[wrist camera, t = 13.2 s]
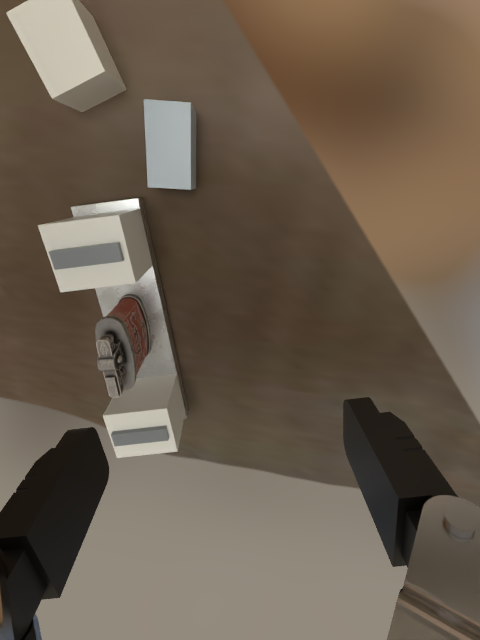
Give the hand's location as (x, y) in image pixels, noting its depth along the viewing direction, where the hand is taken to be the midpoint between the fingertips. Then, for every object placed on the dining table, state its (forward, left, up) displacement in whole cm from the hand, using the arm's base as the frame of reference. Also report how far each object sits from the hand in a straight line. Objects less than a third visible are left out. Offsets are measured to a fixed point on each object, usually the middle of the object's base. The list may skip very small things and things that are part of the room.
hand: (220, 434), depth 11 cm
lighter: (-12, -7, -28) cm, 32 cm away
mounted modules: (-12, -7, -28) cm, 31 cm away
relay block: (-11, +19, -30) cm, 37 cm away
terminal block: (-4, +11, -30) cm, 32 cm away
